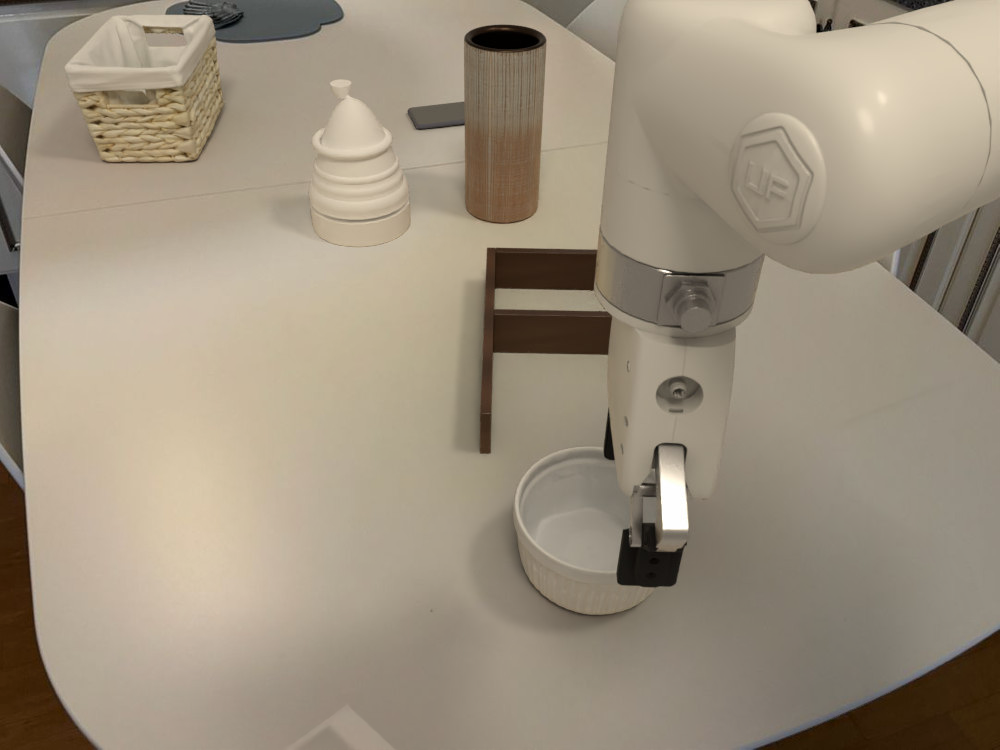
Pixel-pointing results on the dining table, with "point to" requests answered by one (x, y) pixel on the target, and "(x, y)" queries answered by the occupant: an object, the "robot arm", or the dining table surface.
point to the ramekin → (577, 530)
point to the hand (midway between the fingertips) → (636, 514)
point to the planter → (503, 121)
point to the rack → (537, 313)
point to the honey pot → (357, 178)
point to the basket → (148, 88)
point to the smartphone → (438, 115)
